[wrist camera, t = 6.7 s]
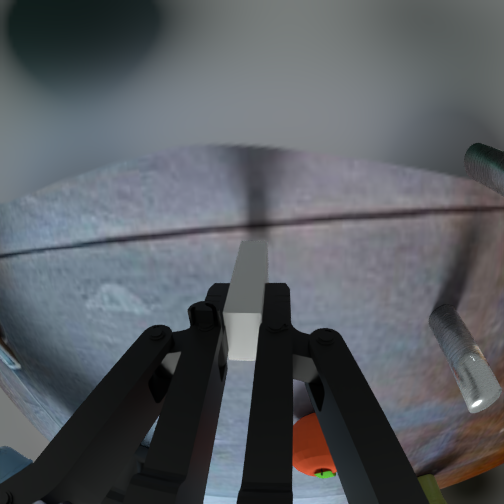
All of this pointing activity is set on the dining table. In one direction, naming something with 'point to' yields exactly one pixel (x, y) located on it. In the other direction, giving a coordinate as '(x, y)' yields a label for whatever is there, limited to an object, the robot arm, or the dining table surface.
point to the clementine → (311, 448)
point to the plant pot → (431, 489)
